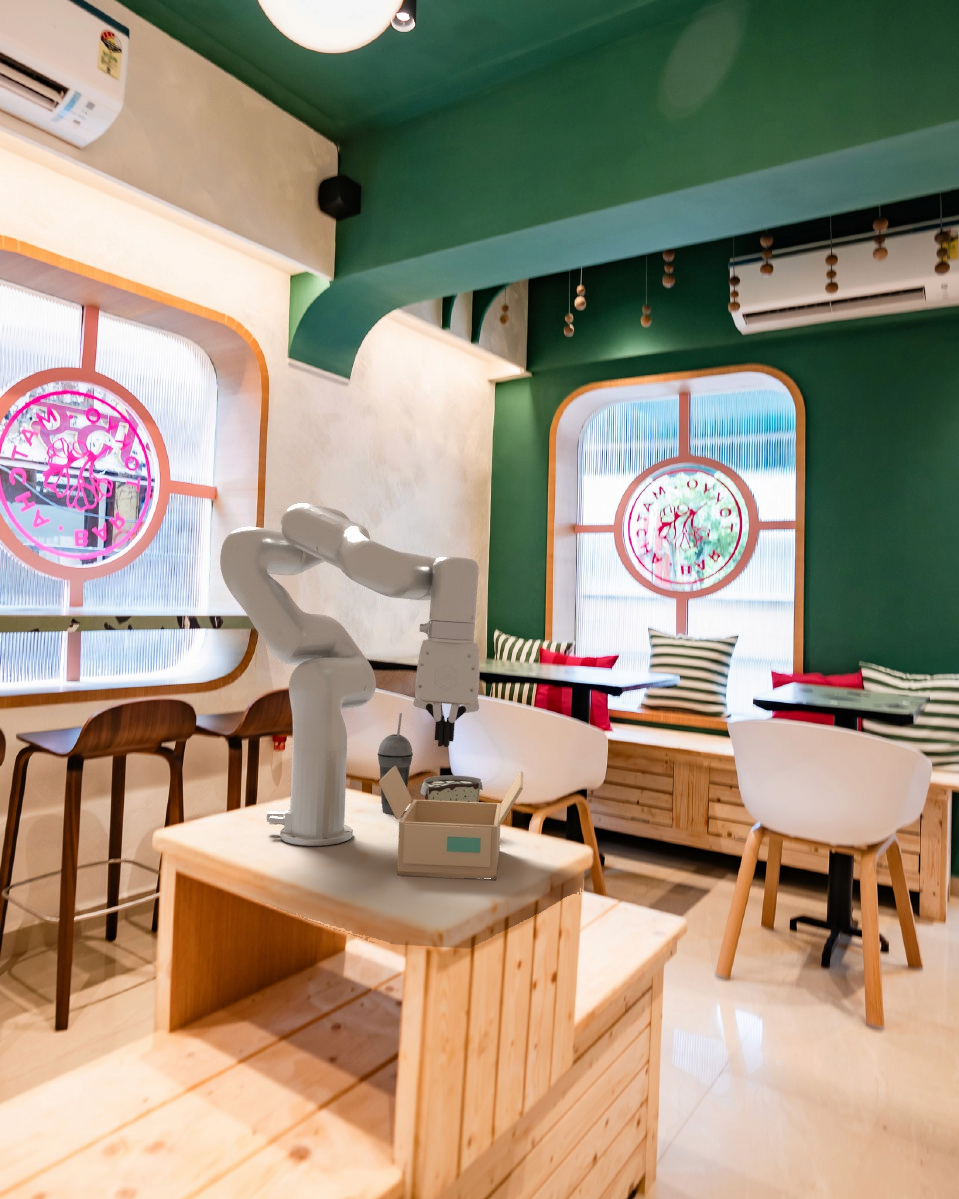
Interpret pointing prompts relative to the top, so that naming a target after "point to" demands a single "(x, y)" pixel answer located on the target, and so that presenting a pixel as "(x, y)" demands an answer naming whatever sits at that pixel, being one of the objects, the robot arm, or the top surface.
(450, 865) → the carton
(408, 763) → the beverage cup
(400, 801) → the left flap
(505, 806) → the right flap
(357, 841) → the top surface
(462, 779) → the food container
